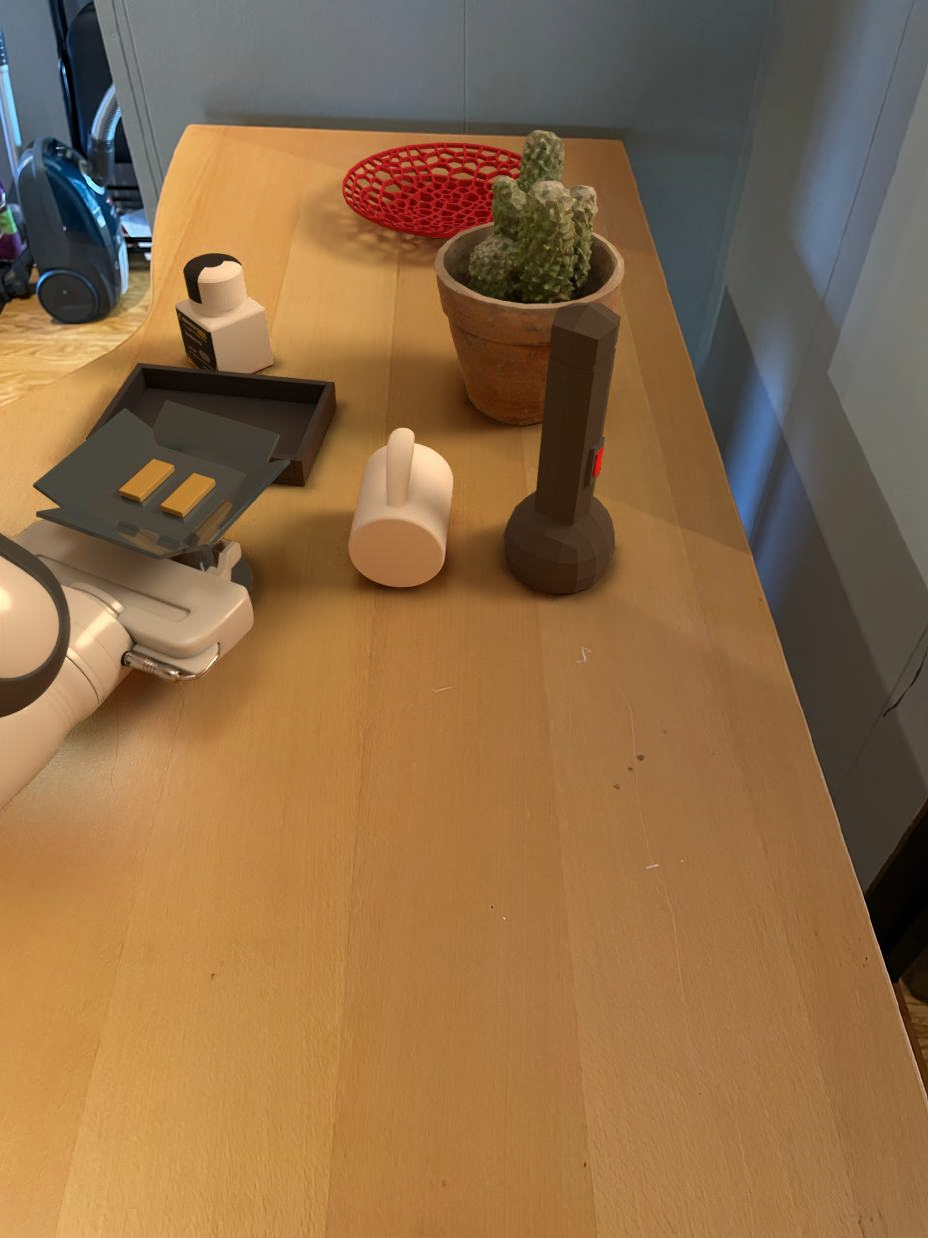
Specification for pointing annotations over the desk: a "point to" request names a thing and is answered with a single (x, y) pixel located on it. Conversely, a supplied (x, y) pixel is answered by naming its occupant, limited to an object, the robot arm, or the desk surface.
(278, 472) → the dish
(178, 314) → the medicine bottle
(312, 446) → the tray
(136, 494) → the orange rectangular block
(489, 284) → the potted plant
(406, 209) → the bowl
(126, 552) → the robot arm
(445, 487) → the mug
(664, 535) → the desk surface
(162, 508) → the key
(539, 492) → the flashlight
